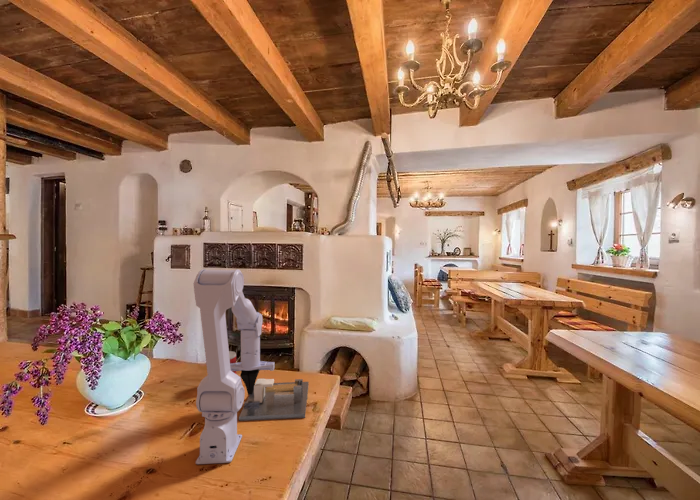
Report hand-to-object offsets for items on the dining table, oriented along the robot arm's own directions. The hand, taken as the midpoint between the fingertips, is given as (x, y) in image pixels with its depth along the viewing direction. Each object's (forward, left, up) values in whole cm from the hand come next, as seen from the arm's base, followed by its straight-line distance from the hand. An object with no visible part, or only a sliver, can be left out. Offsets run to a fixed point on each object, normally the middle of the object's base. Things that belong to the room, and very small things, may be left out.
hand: (250, 393), depth 93 cm
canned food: (+13, +12, -4) cm, 18 cm away
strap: (0, -10, +1) cm, 10 cm away
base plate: (+1, -8, -3) cm, 9 cm away
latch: (0, -4, -2) cm, 5 cm away
